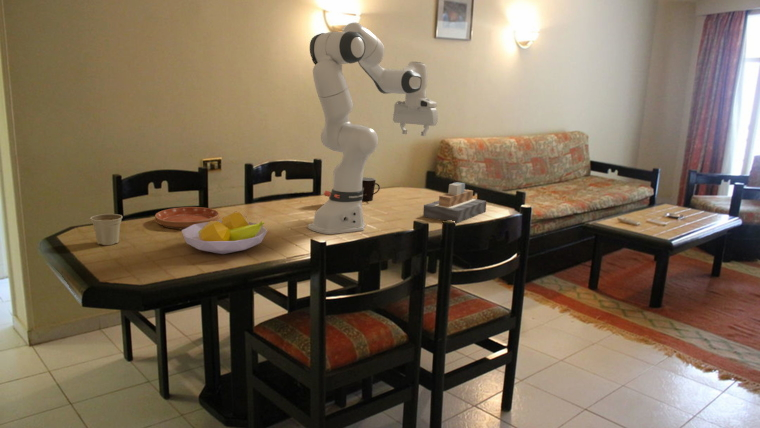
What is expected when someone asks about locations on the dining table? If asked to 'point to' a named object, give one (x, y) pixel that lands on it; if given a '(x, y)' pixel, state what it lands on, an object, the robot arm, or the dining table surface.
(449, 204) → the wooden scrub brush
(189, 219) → the saucer
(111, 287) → the dining table surface
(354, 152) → the robot arm
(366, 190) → the coffee mug
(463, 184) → the crate
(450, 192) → the block
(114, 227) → the flower pot
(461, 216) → the block
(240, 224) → the fruit bowl
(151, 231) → the dining table surface
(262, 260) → the dining table surface
